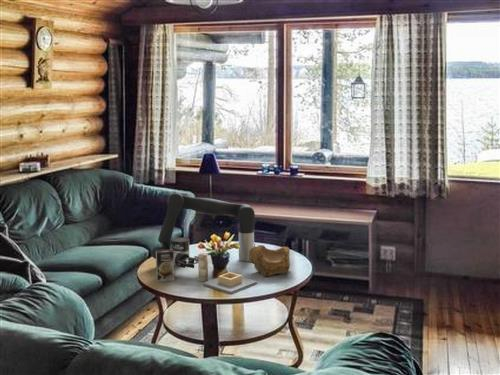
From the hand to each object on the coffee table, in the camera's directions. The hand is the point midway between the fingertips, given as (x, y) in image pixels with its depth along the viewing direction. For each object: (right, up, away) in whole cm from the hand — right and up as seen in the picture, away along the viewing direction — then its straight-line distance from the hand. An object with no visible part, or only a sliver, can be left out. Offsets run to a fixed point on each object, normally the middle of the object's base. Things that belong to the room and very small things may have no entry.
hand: (199, 264), depth 303 cm
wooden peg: (+2, -8, 0) cm, 8 cm away
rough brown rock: (+38, -6, +9) cm, 40 cm away
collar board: (+17, -9, -8) cm, 21 cm away
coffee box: (-19, -8, 0) cm, 20 cm away
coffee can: (-14, -3, +30) cm, 33 cm away
